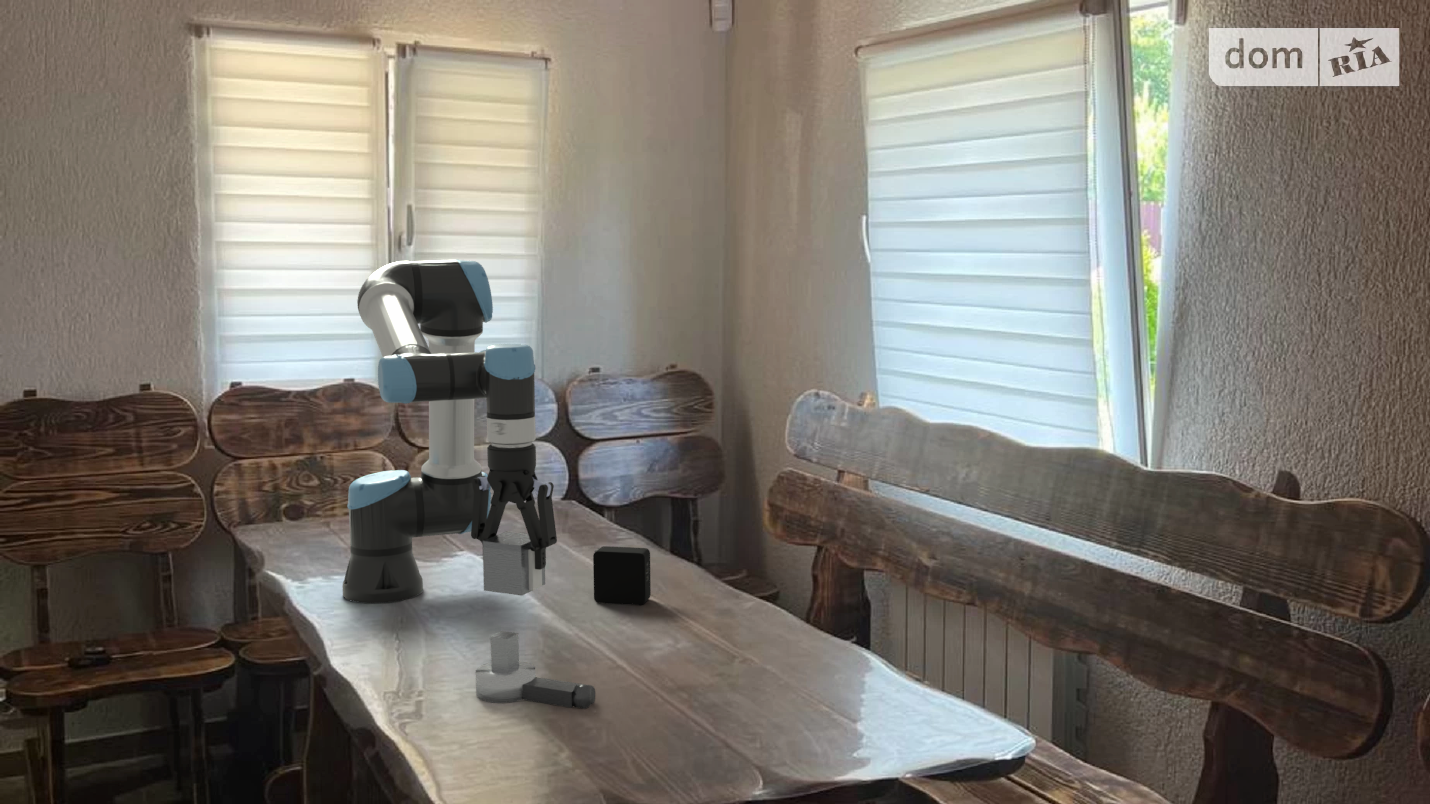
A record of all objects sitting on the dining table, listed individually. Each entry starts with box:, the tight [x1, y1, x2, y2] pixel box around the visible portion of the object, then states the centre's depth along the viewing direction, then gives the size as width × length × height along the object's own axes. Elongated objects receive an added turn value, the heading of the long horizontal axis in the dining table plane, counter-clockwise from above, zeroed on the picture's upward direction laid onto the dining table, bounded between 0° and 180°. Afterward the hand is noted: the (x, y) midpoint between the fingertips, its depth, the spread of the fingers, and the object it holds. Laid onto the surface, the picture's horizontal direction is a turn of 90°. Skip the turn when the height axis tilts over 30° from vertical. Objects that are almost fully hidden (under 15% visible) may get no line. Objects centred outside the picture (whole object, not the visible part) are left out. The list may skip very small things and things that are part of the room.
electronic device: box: [592, 545, 652, 606], centre depth 247 cm, size 4×10×10 cm, turn 78°
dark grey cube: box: [482, 530, 546, 597], centre depth 207 cm, size 7×7×8 cm
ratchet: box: [474, 630, 596, 710], centre depth 196 cm, size 19×9×10 cm, turn 66°
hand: (514, 585), depth 207 cm, fingers closed on dark grey cube, 7 cm apart
